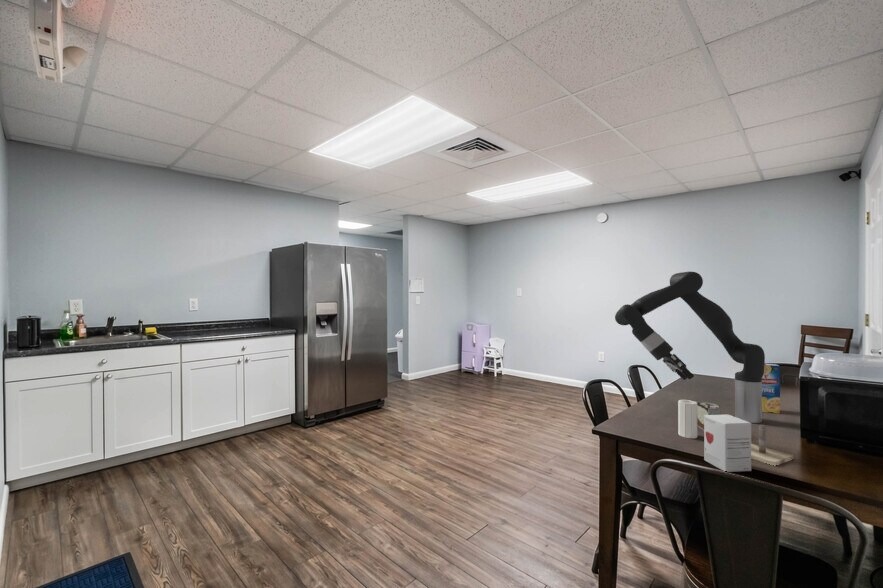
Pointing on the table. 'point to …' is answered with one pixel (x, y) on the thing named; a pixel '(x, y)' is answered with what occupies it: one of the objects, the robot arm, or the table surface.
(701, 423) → the food container
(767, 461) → the stand
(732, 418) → the supplement box
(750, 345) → the robot arm
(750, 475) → the table surface
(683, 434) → the roll
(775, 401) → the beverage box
